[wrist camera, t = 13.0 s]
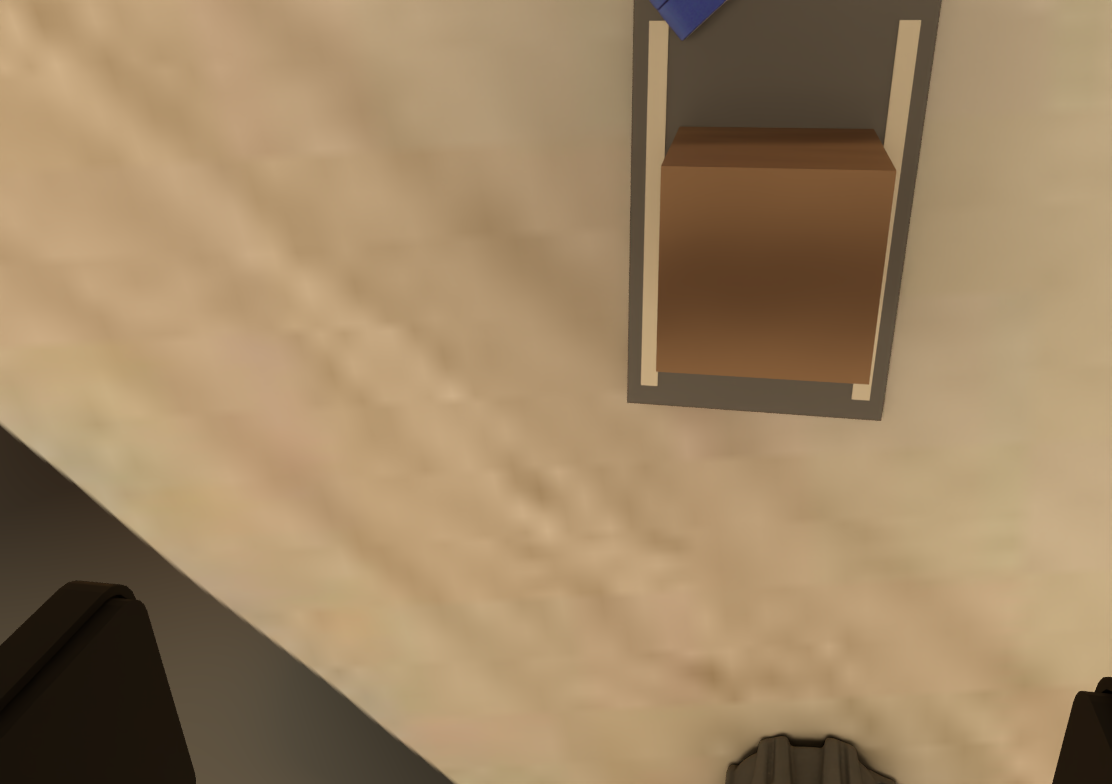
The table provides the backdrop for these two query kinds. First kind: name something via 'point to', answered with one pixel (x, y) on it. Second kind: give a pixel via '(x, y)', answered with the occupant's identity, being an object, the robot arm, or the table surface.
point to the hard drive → (686, 13)
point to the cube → (772, 252)
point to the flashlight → (803, 765)
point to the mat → (775, 102)
